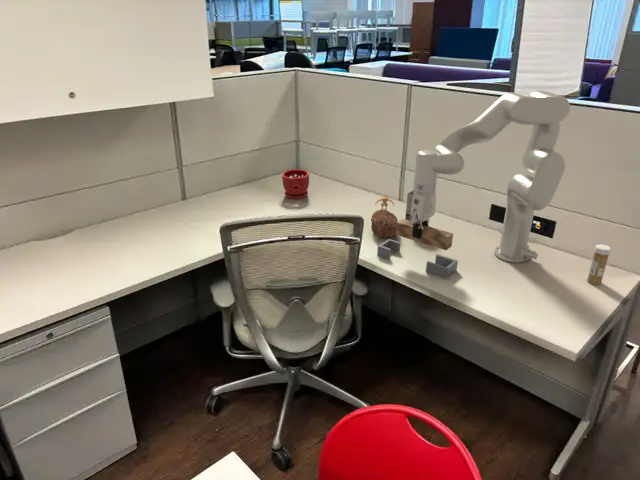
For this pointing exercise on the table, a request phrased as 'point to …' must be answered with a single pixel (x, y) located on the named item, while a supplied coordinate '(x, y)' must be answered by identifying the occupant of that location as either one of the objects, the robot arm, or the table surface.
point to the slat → (426, 235)
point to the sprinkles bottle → (598, 264)
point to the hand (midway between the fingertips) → (419, 235)
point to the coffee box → (409, 206)
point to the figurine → (384, 201)
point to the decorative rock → (384, 223)
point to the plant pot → (296, 183)
